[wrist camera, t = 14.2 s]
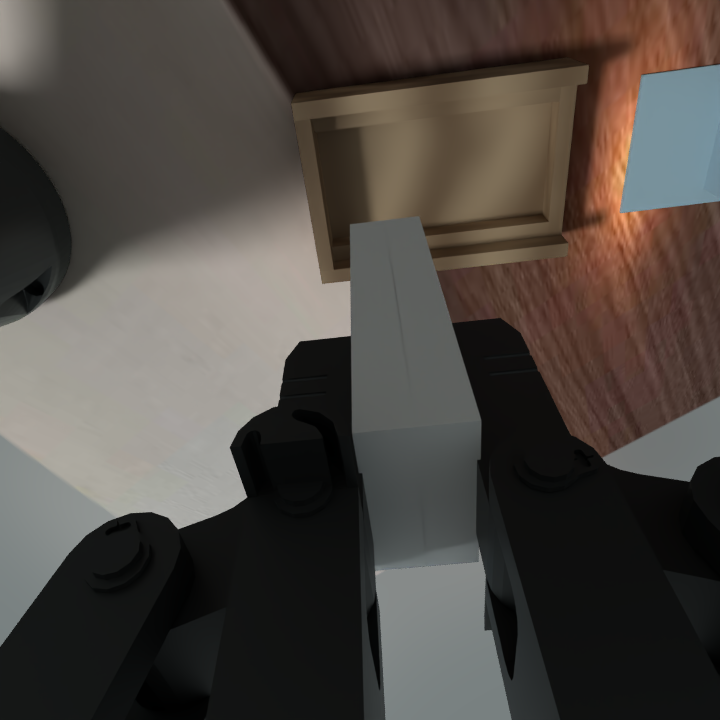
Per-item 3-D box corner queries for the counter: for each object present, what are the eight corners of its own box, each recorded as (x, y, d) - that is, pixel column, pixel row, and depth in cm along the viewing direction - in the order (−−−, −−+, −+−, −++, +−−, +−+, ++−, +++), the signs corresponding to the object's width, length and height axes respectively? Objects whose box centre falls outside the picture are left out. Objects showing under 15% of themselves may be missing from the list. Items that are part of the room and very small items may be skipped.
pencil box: (324, 261, 38) (322, 283, 36) (295, 93, 32) (290, 103, 29) (550, 235, 38) (566, 256, 35) (567, 57, 31) (588, 64, 28)
